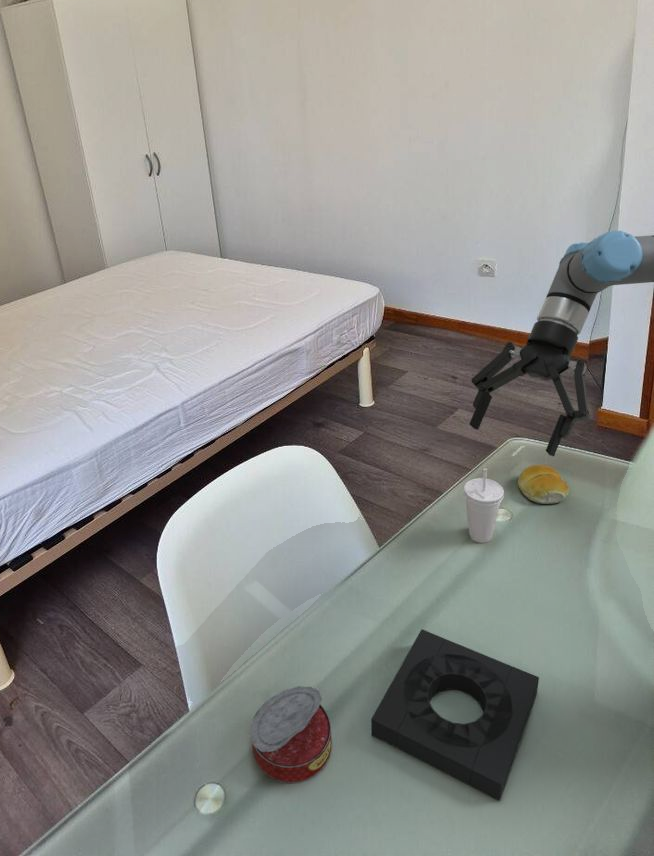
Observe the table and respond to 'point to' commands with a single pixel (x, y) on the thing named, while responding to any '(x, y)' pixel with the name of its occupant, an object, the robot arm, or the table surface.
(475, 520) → the smoothie
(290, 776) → the canned food
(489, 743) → the socket pad
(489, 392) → the robot arm
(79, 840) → the table surface
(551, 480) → the bread roll
